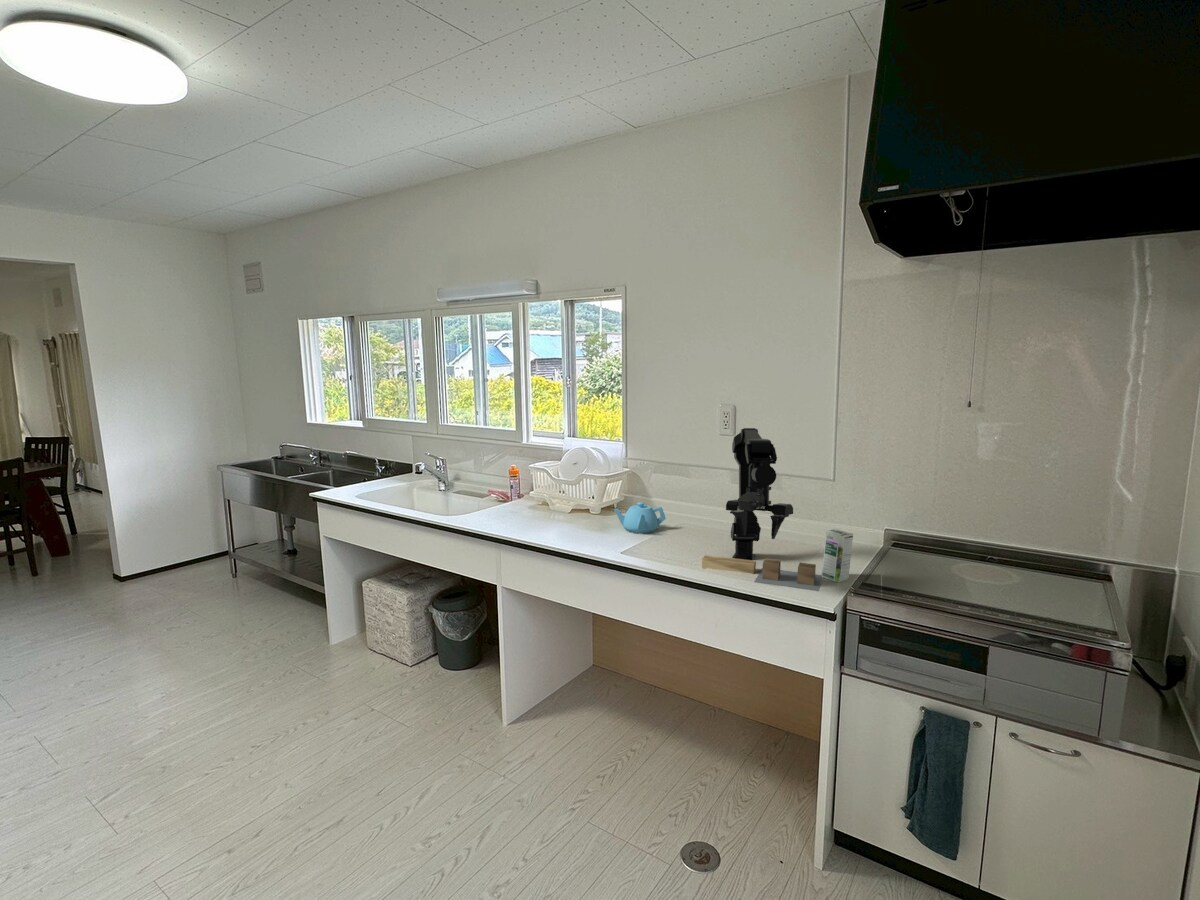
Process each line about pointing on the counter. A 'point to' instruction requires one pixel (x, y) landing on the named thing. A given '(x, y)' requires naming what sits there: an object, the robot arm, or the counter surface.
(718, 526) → the counter surface
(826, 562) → the syrup box
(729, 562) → the plank
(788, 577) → the mat
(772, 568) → the block
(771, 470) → the robot arm
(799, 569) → the block
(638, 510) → the teapot
